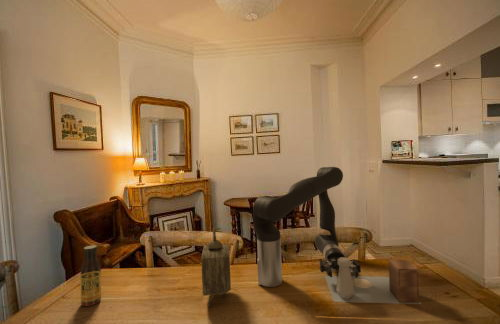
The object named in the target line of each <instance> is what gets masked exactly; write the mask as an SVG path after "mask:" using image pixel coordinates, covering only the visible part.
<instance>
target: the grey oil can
mask: <svg viewBox="0 0 500 324" xmlns="http://www.w3.org/2000/svg"><path fill="white" fill-rule="evenodd" d="M201 283H202V284H201V285H202V295H203V296H210V299H209V301H208V302H207V303H206V306H207V308H211V307H212V306H213V303H212V301H213V299H214V296H215V295H221V297H222V298H225V297H226V296H227V293H229V292H230V291H231V289H232V286H231V285H232V284H231V283H232V282H231V259H230V245H228V244H225V243H222V242H221V241H220V240H218V239H217V234H216V227H215V226H213V228H212V240H211V241H209V243H208V244H207V245H203V248H202V252H201Z"/></svg>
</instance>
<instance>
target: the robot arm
mask: <svg viewBox="0 0 500 324" xmlns="http://www.w3.org/2000/svg"><path fill="white" fill-rule="evenodd" d="M343 178H344V173H343V171H342V169H340V168H339V167H336V166H326V167H325V166H324V167H319V168H318V170H317V172H316V176H311V177H307V178H303V179H301V180H299V181H297V182H296V183H293V184H292V185H291V186H290V187H289V189H288V192H287V193H286V194H284V195H282V196H278V197H270V196H259V197H257V198H256V199H255V201H254V202H253V207H252V215H253V216H252V219H253V228H254V232H255V235H256V244H257V247H256V249H257V261H256V262H257V264H256V265H257V285H258V284H259V285H258V286H264V287H267V288H275V287H279V286H280V285H281V284H282V283H283V267H282V266H283V264H282V243H281V242H282V241H281V231H280V229H278V227H277V226H276V225H275V224H274V223H276V222H277V223H278V221H281V220H282V219H283V218H284V217H285V216H287V215H288V214H289V213H291V212H292V211H294V209H295V210H296V209H297V208H298V207H300V206H302V205H303V204H305V203H308V202H309V201H311V200H312V199H314V198H316V197H317V196H318V201H319V228H320V229H321V230H324V231H327V232H328V233H329V234H318V235H317V236H316V237H315V238H314V245H315V247H316V249H317V250H318V251H319V252H320V253H322V254H323V259H324V260H325V261H324V260H323V259H322V258H320V259H319V260H318V262H319V263H318V264H319V270H320V272H321V273H324V272H325V273H326V276H330V277H332V276H333V272H334V271H339V265H338V259H339V258H340V257H346V256H345V254H344V253H343V251H342V249H341V248H340V247H339V240H338V236H337V231H336V211H335V208H334V206H333V204H332V201H331V200H330V197H329V193H328V190H329V189H331V188H335V187H337V186H339V185H340V184H341V183H342V182H343ZM350 261H351V266H350V267H349V269H350V273H351V274H352V276H355V278H358V276H360V273H361V272H362V270H361V268H362V267H361V263H359V261H358V260H357V259H355V258H352V260H350Z"/></svg>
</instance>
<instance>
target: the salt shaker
mask: <svg viewBox="0 0 500 324" xmlns="http://www.w3.org/2000/svg"><path fill="white" fill-rule="evenodd" d="M351 261H352V260H351V259H350V258H348V257H346V256H345V257H340V258H339V259H338V265H339V270H338V275H337V276H338V280H337V287H336V290H337V292H338V295H339V296H340V297H341V298H342V299H348V300H349V299H350V298H352V296H353V294H354V287H353V282H352V278H351V276H352V272H350V269H349V267H350V266H351Z"/></svg>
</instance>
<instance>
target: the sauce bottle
mask: <svg viewBox="0 0 500 324" xmlns="http://www.w3.org/2000/svg"><path fill="white" fill-rule="evenodd" d="M97 251H98V245H96V244H95V245H86V246H84V247H83V253H84V255H83V256H84V258H83V261H82V263H81V266H80V274H79V275H80V277H79V279H80V304H81V306H83V307H91V306H94V305H96V304H98V303H99V302H100V301H101V299H102V272H101V266H102V265H101V262H100V261H99V260H98V257H97V255H98V254H97Z"/></svg>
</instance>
